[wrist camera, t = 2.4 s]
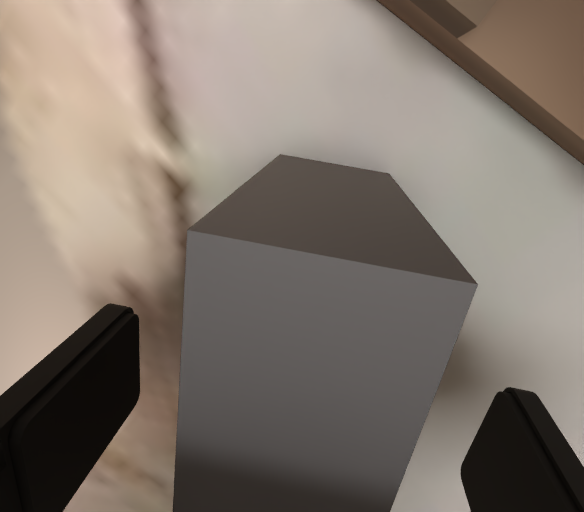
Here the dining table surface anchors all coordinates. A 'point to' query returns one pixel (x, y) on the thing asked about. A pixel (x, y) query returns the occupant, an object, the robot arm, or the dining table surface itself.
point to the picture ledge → (514, 54)
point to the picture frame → (311, 342)
